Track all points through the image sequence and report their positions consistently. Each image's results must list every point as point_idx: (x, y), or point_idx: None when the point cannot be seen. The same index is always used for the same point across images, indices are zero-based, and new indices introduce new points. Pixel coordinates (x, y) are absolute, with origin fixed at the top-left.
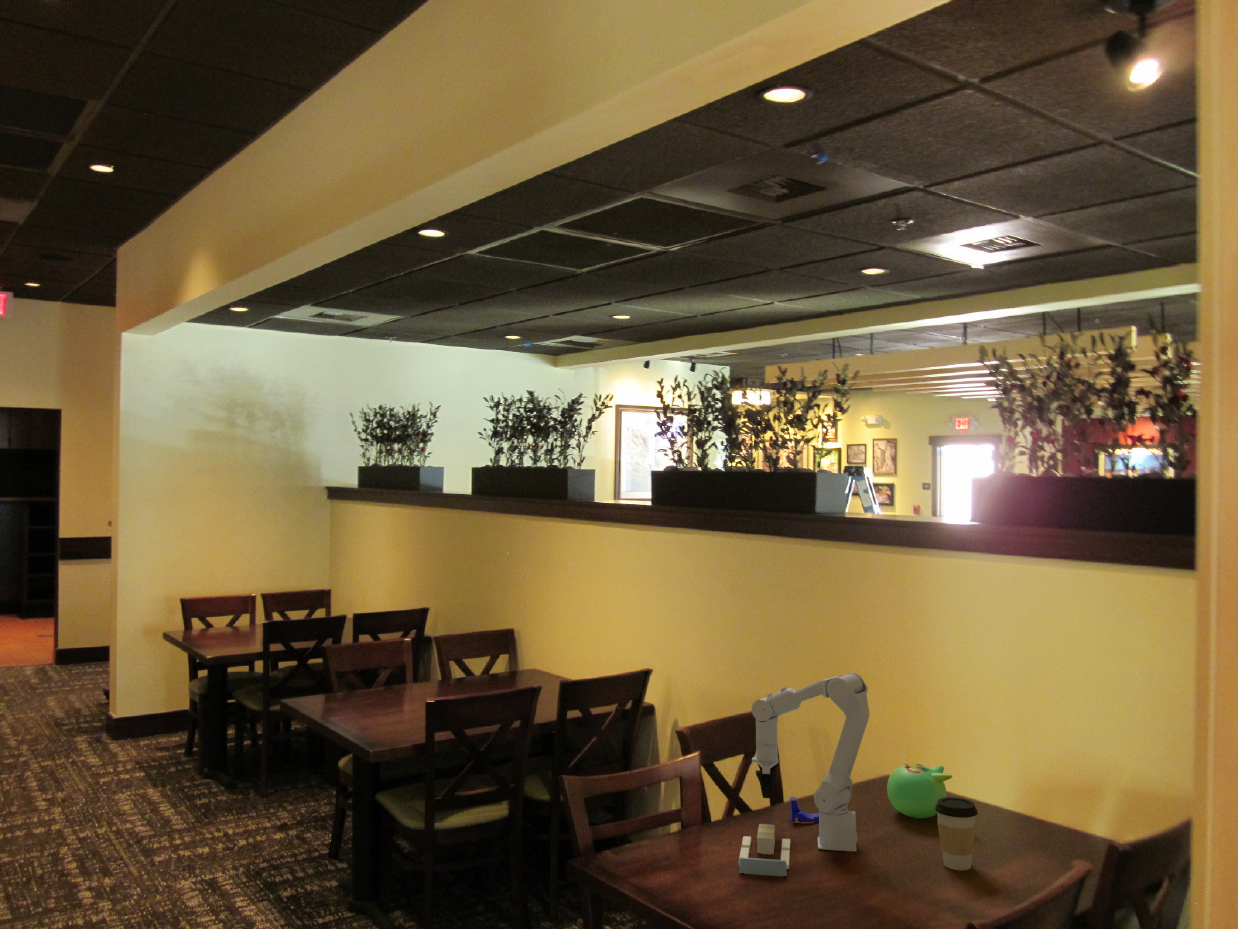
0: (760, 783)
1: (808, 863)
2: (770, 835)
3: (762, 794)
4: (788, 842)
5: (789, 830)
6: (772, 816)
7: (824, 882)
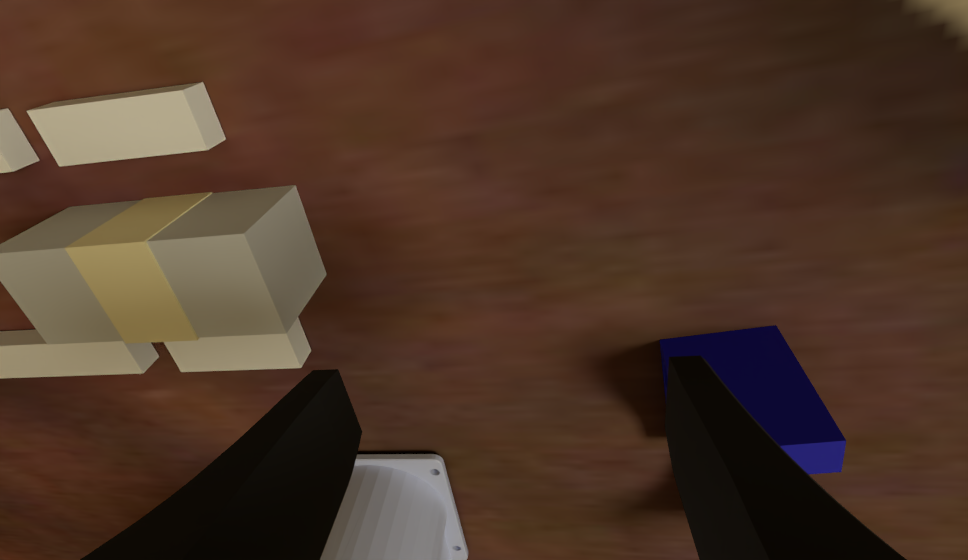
0: (140, 525)
1: (133, 422)
2: (82, 327)
3: (285, 397)
4: (248, 364)
5: (527, 334)
6: (809, 212)
7: (9, 465)
